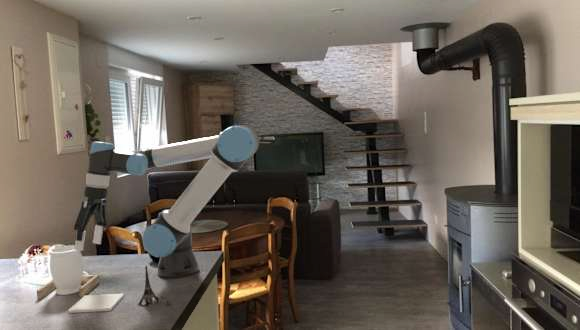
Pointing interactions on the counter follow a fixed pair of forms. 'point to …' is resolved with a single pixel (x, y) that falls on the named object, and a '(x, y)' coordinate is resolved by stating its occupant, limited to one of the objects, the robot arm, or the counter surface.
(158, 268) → the robot arm
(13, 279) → the counter surface
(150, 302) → the eiffel tower figurine
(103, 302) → the ceramic tile
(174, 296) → the counter surface
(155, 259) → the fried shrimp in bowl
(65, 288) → the jar
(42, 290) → the oak cradle
